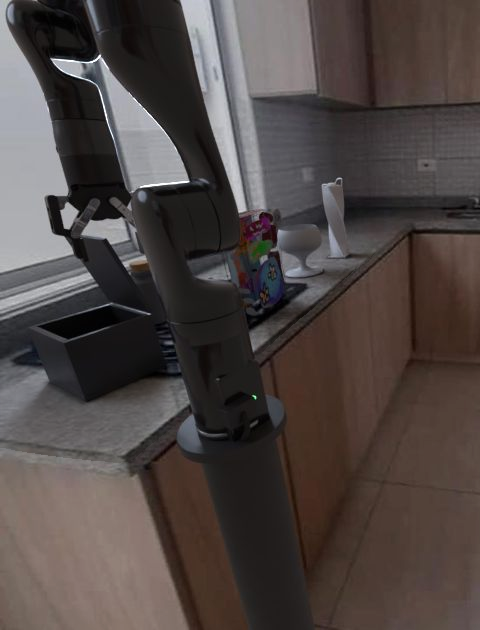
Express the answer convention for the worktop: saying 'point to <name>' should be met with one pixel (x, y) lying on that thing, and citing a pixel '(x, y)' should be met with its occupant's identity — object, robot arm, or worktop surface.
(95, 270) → the dark grey box lid
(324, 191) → the skyscraper
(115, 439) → the worktop surface
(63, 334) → the dark grey lidded box
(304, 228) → the chalice
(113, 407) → the worktop surface
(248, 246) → the box
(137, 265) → the bottle
